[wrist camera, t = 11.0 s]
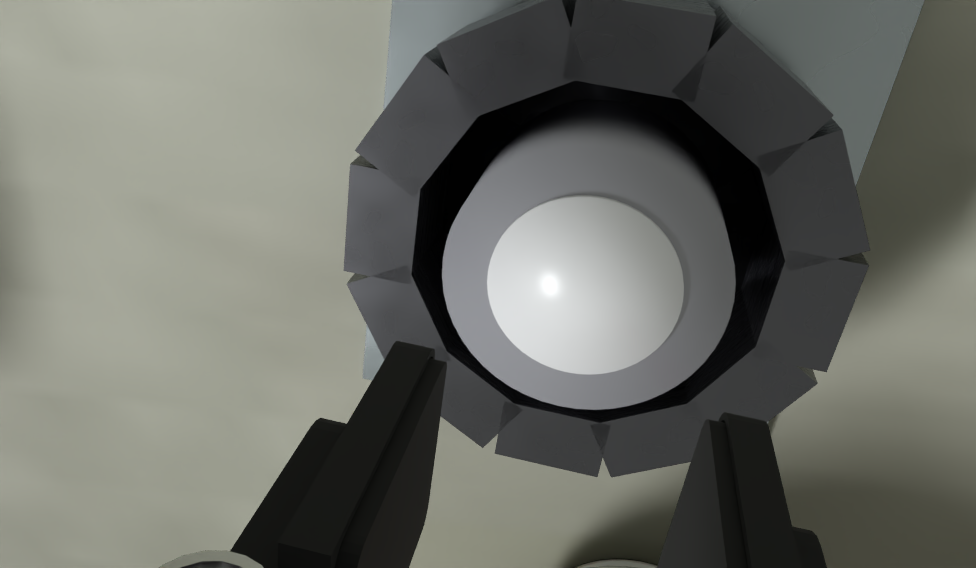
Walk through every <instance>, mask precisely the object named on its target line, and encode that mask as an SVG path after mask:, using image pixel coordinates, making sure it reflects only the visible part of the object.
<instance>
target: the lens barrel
mask: <svg viewBox="0 0 976 568" xmlns="http://www.w3.org/2000/svg"><path fill="white" fill-rule="evenodd" d="M924 1H925V0H392V10H391V23H390V36H389V48H388V61H387V74H386V87H385V99H384V111H383V112H382V114H381V115H380V116H379V118H378V119H377V121H376V122H375V123H374V125H373V126H372V128H371V129H370V130H369V132H368V133H367V135H366V136H365V137H364V139H363V140H362V141H361V143H360V144H359V146H358V147H357V148H356V150H355V151H356V152H358V153H359V154H360V156H359V157H358V158H357V159H356V160H354V161H353V162H352V163H351V164H350V176H349V193H348V209H347V226H346V242H345V259H344V271H347V272H352V273H355V274H354V275H353V276H352V278H351V279H350V280H349V281H348V283H347V286H348V288H349V290H350V292H351V294H352V296H353V298H354V300H355V302H356V304H357V306H358V308H359V310H360V312H361V314H362V316H363V318H364V320H365V322H366V324H367V329H366V342H365V354H364V367H363V378H364V379H369V380H373V379H374V377H375V375H376V373H377V372H378V370H379V368H380V366H381V365H382V363H383V361H384V360H385V358H386V356H387V354H388V353H389V351H390V349H391V348H392V346H393V344H394V343H395V342H396V341H401V342H406V343H410V344H415V345H419V346H424V347H429V348H433V349H434V350H435V359H436V360H440V361H445V362H447V371H446V378H445V386H444V393H443V400H442V408H441V415H440V416H441V417H443V418H444V419H445V420H446V421H448V422H449V423H450V424H452V425H453V426H454V427H456V428H457V429H458V430H460V431H461V432H462V433H464V434H465V435H466V436H468V437H469V438H470V439H472V440H473V441H474V442H476V443H477V444H478V445H479V446H481V447H482V448H483V447H484V446H485V445H486V444H487V443H488V442H490V441H491V440H492V439H493V438H494V437H495V436H496V435H497V434H498V439H497V444H496V450H495V454H499V455H503V456H508V457H512V458H516V459H521V460H525V461H529V462H534V463H538V464H542V465H547V466H551V467H555V468H560V469H564V470H568V471H573V472H577V473H581V474H586V475H590V476H594V477H598V473H599V469H600V465H601V461H602V457H603V459H604V461H605V464H606V466H607V469H608V471H609V473H610V476H611V477H616V476H621V475H626V474H631V473H636V472H641V471H646V470H651V469H656V468H662V467H667V466H672V465H677V464H682V463H687V462H691V460H692V457H693V454H694V451H695V448H696V445H697V442H698V439H699V436H700V433H701V429H702V427H703V424H704V422H705V420H707V419H710V420H714V421H719V418H720V417H721V415H722V413H724V412H727V413H732V414H736V415H741V416H745V417H750V418H755V419H759V420H764V421H766V422H767V424H768V422H769V420H771V419H772V418H773V417H775V416H776V415H777V414H779V413H780V412H781V411H783V410H784V409H785V408H786V407H788V406H789V405H790V404H792V403H793V402H794V401H796V400H797V399H798V398H799V397H801V396H802V395H803V394H805V393H806V392H807V391H809V390H810V389H811V388H812V387H814V386H815V385H816V384H818V383H817V381H816V378H815V375H814V372H813V370H812V369H814V370H819V371H823V372H827V370H828V367H829V365H830V362H831V360H832V357H833V355H834V352H835V350H836V347H837V344H838V342H839V339H840V337H841V334H842V332H843V329H844V327H845V324H846V322H847V319H848V317H849V314H850V312H851V309H852V307H853V304H854V302H855V299H856V297H857V294H858V292H859V289H860V287H861V284H862V282H863V279H864V277H865V274H866V272H867V269H868V267H869V265H868V263H867V262H866V260H865V258H864V257H863V255H862V254H861V253H862V252H866V251H869V250H870V247H869V243H868V238H867V234H866V230H865V225H864V221H863V217H862V212H861V208H860V204H859V199H858V195H857V191H856V184H857V181H858V179H859V176H860V173H861V171H862V168H863V165H864V163H865V160H866V157H867V154H868V152H869V149H870V146H871V144H872V141H873V138H874V136H875V133H876V130H877V127H878V125H879V122H880V119H881V117H882V114H883V111H884V109H885V106H886V103H887V100H888V98H889V95H890V92H891V90H892V87H893V84H894V82H895V79H896V76H897V74H898V71H899V68H900V65H901V63H902V60H903V57H904V55H905V52H906V49H907V47H908V44H909V41H910V38H911V36H912V33H913V30H914V28H915V25H916V22H917V20H918V17H919V14H920V11H921V9H922V6H923V3H924ZM584 100H611V101H620V102H624V103H628V104H633V105H637V106H639V107H642V108H644V109H647V110H650V111H652V112H654V113H656V114H658V115H659V116H661V117H663V118H665V119H667V120H668V121H669V122H671V123H672V124H673V125H675V126H676V127H677V128H679V129H680V130H681V131H682V132H683V133H684V134H685V135H686V136H687V137H688V138H689V139H690V140H691V141H692V142H693V143H694V144H695V146H696V147H697V148H698V150H699V151H700V152H701V154H702V155H703V157H704V159H705V161H706V162H707V164H708V166H709V168H710V170H711V173H712V176H713V178H714V181H715V184H716V188H717V192H718V196H719V201H720V205H721V209H722V213H723V217H724V221H725V226H726V230H727V234H728V238H729V242H730V246H731V251H732V255H733V260H734V264H735V279H736V285H735V298H734V304H733V308H732V312H731V316H730V319H729V322H728V324H727V327H726V329H725V332H724V334H723V336H722V338H721V339H720V341H719V343H718V345H717V346H716V348H715V350H714V351H713V352H712V353H711V355H710V356H709V357H708V358H707V360H706V361H705V362H704V363H703V364H702V365H701V366H700V367H699V368H698V369H697V370H696V371H695V372H694V373H693V374H692V375H691V376H690V377H688V378H687V379H686V380H684V381H683V382H682V383H680V384H679V385H678V386H676V387H674V388H672V389H670V390H669V391H667V392H665V393H663V394H661V395H659V396H657V397H654V398H652V399H650V400H647V401H644V402H641V403H637V404H634V405H630V406H625V407H619V408H613V409H599V410H588V409H574V408H568V407H562V406H557V405H553V404H550V403H546V402H542V401H540V400H537V399H535V398H532V397H530V396H527V395H525V394H523V393H521V392H519V391H517V390H515V389H513V388H512V387H510V386H508V385H507V384H505V383H504V382H502V381H501V380H500V379H498V378H497V377H495V376H494V375H493V374H492V373H491V372H489V371H488V370H487V369H486V368H485V367H484V366H483V365H482V364H481V363H480V362H479V361H478V360H477V359H476V358H475V357H474V356H473V354H472V353H471V352H470V351H469V349H468V348H467V346H466V345H465V344H464V342H463V341H462V339H461V338H460V336H459V334H458V332H457V330H456V328H455V326H454V325H453V322H452V320H451V317H450V314H449V312H448V309H447V305H446V301H445V296H444V292H443V281H442V265H443V255H444V250H445V245H446V241H447V238H448V235H449V232H450V229H451V226H452V224H453V222H454V220H455V218H456V217H457V215H458V213H459V211H460V209H461V207H462V206H463V204H464V203H465V201H466V200H467V198H468V196H469V195H470V193H471V192H472V190H473V189H474V187H475V185H476V184H477V182H478V181H479V179H480V177H481V176H482V174H483V173H484V171H485V170H486V168H487V166H488V165H489V163H490V162H491V160H492V159H493V157H494V155H495V154H496V153H497V151H498V150H499V148H500V147H501V146H502V144H503V143H504V142H505V141H506V140H507V139H508V138H509V137H510V135H511V134H512V133H513V132H514V131H516V130H517V129H518V128H519V127H521V126H522V125H523V124H524V123H526V122H527V121H529V120H530V119H532V118H534V117H535V116H537V115H539V114H540V113H543V112H545V111H547V110H549V109H552V108H554V107H557V106H561V105H564V104H567V103H571V102H578V101H584Z"/></svg>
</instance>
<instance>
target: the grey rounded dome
mask: <svg viewBox="0 0 976 568" xmlns="http://www.w3.org/2000/svg"><path fill="white" fill-rule="evenodd" d="M442 281H443V292H444V296H445V301H446V305H447V309H448V312H449V314H450V317H451V320H452V322H453V325H454V326H455V328H456V330H457V332H458V334H459V336H460V338H461V339H462V341H463V342H464V344H465V345H466V346H467V348H468V349H469V351H470V352H471V353H472V354H473V356H474V357H475V358H476V359H477V360H478V361H479V362H480V363H481V364H482V365H483V366H484V367H485V368H486V369H487V370H488V371H489V372H491V373H492V374H493V375H494V376H495V377H497V378H498V379H500V380H501V381H502V382H504V383H505V384H507V385H508V386H510V387H512V388H513V389H515V390H517V391H519V392H521V393H523V394H525V395H527V396H530V397H532V398H535V399H537V400H540V401H542V402H546V403H550V404H553V405H557V406H562V407H568V408H574V409H588V410H599V409H613V408H619V407H625V406H630V405H634V404H637V403H641V402H644V401H647V400H650V399H652V398H654V397H657V396H659V395H661V394H663V393H665V392H667V391H669V390H670V389H672V388H674V387H676V386H678V385H679V384H680V383H682V382H683V381H684V380H686V379H687V378H688V377H690V376H691V375H692V374H693V373H694V372H695V371H696V370H697V369H698V368H699V367H700V366H701V365H702V364H703V363H704V362H705V361H706V360H707V358H708V357H709V356H710V355H711V353H712V352H713V351H714V350H715V348H716V346H717V345H718V343H719V341H720V339H721V338H722V336H723V334H724V332H725V329H726V327H727V324H728V322H729V319H730V316H731V312H732V308H733V304H734V298H735V285H736V279H735V264H734V260H733V255H732V251H731V246H730V242H729V238H728V234H727V230H726V226H725V221H724V217H723V213H722V209H721V205H720V201H719V196H718V192H717V188H716V184H715V181H714V178H713V176H712V173H711V170H710V168H709V166H708V164H707V162H706V161H705V159H704V157H703V155H702V154H701V152H700V151H699V150H698V148H697V147H696V146H695V144H694V143H693V142H692V141H691V140H690V139H689V138H688V137H687V136H686V135H685V134H684V133H683V132H682V131H681V130H680V129H679V128H677V127H676V126H675V125H673V124H672V123H671V122H669V121H668V120H667V119H665V118H663V117H661V116H659V115H658V114H656V113H654V112H652V111H650V110H647V109H644V108H642V107H639V106H637V105H633V104H628V103H624V102H620V101H611V100H584V101H578V102H571V103H567V104H564V105H561V106H557V107H554V108H552V109H549V110H547V111H545V112H543V113H540V114H539V115H537V116H535V117H534V118H532V119H530V120H529V121H527V122H526V123H524V124H523V125H522V126H521V127H519V128H518V129H517V130H516V131H514V132H513V133H512V134H511V135H510V137H509V138H508V139H507V140H506V141H505V142H504V143H503V144H502V146H501V147H500V148H499V150H498V151H497V153H496V154H495V155H494V157H493V159H492V160H491V162H490V163H489V165H488V166H487V168H486V170H485V171H484V173H483V174H482V176H481V177H480V179H479V181H478V182H477V184H476V185H475V187H474V189H473V190H472V192H471V193H470V195H469V196H468V198H467V200H466V201H465V203H464V204H463V206H462V207H461V209H460V211H459V213H458V215H457V217H456V218H455V220H454V222H453V224H452V226H451V229H450V232H449V235H448V238H447V241H446V245H445V250H444V255H443V265H442Z"/></svg>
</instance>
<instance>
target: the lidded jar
mask: <svg viewBox="0 0 976 568" xmlns="http://www.w3.org/2000/svg"><path fill="white" fill-rule="evenodd" d="M657 567H658V566H657V565H653V564H649V563H645V562H642V561H635V560H627V559H609V560H599V561H594V562H590V563H586V564H583V565H580V566H578V567H575V568H657Z"/></svg>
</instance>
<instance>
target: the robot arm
mask: <svg viewBox="0 0 976 568" xmlns="http://www.w3.org/2000/svg"><path fill="white" fill-rule="evenodd" d="M446 371H447V362H445V361H440V360H436V359H435V350H434V349H433V348H429V347H424V346H419V345H415V344H410V343H406V342H401V341H396V342H395V343H394V344H393V346H392V348H391V349H390V351H389V353H388V354H387V356H386V358H385V360H384V361H383V363H382V365H381V366H380V368H379V370H378V372H377V373H376V375H375V377H374V379H373V380H372V382H371V384H370V385H369V387H368V389H367V391H366V392H365V394H364V396H363V397H362V399H361V401H360V403H359V404H358V406H357V408H356V409H355V411H354V413H353V415H352V416H351V418H350V420H349V421H348V423H347V424H345V423H341V422H336V421H332V420H328V419H323V418H320V419H318V420H316V421H315V422H314V424H313V425H312V426H311V427H310V429H309V430H308V432H307V434H306V435H305V437H304V438H303V440H302V441H301V443H300V444H299V446H298V447H297V449H296V450H295V452H294V454H293V455H292V457H291V458H290V460H289V461H288V463H287V464H286V466H285V467H284V469H283V471H282V472H281V474H280V475H279V477H278V478H277V480H276V481H275V483H274V484H273V486H272V487H271V489H270V491H269V492H268V494H267V495H266V497H265V498H264V500H263V501H262V503H261V504H260V506H259V508H258V509H257V511H256V512H255V514H254V515H253V517H252V518H251V520H250V521H249V523H248V524H247V526H246V528H245V529H244V531H243V532H242V534H241V535H240V537H239V538H238V540H237V541H236V543H235V544H234V546H233V548H232V549H231V551H217V550H205V551H200V552H196V553H191V554H187V555H183V556H180V557H178V558H176V559H174V560H172V561H170V562H167V563H165V564H163V565H162V566H160V567H159V568H409V566H410V563H411V560H412V557H413V555H414V552H415V549H416V546H417V543H418V541H419V538H420V535H421V532H422V529H423V526H424V522H425V519H426V514H427V509H428V503H429V496H430V489H431V481H432V474H433V467H434V459H435V452H436V445H437V437H438V430H439V422H440V415H441V408H442V400H443V393H444V386H445V378H446ZM657 568H827V567H826V563H825V560H824V556H823V552H822V549H821V545H820V543H819V540H818V538H817V536H816V535H815V534H814V533H813V532H812V531H809V530H805V529H801V528H796V527H792V525H791V520H790V516H789V512H788V508H787V503H786V499H785V495H784V490H783V486H782V482H781V478H780V473H779V469H778V465H777V461H776V456H775V452H774V448H773V444H772V439H771V435H770V431H769V427H768V424H767V422H766V421H764V420H759V419H755V418H750V417H745V416H741V415H736V414H732V413H727V412H724V413H722V415H721V417H720V418H719V421H714V420H710V419H707V420H705V422H704V424H703V427H702V429H701V433H700V436H699V439H698V442H697V445H696V448H695V451H694V454H693V457H692V460H691V463H690V466H689V470H688V473H687V476H686V479H685V482H684V485H683V488H682V491H681V494H680V497H679V500H678V503H677V506H676V510H675V513H674V516H673V519H672V522H671V525H670V528H669V531H668V534H667V537H666V540H665V543H664V546H663V550H662V553H661V556H660V559H659V562H658V567H657Z"/></svg>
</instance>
